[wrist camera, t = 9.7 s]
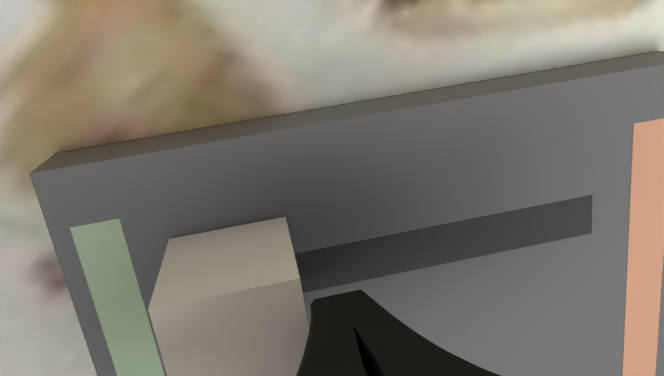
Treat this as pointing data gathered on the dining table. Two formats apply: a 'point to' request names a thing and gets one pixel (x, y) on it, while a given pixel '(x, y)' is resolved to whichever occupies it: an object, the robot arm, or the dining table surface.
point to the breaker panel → (405, 216)
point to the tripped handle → (230, 303)
